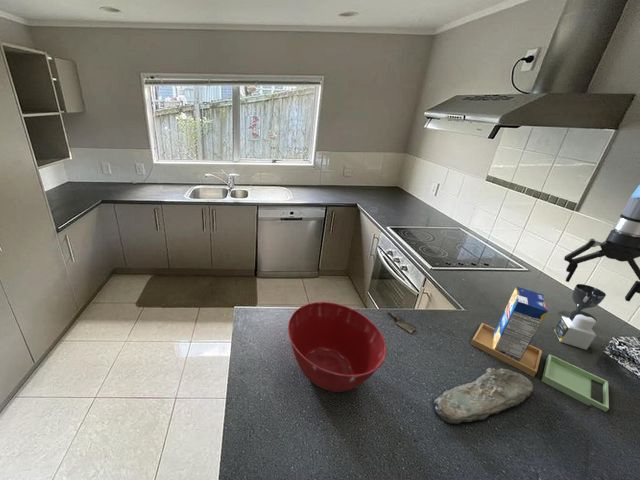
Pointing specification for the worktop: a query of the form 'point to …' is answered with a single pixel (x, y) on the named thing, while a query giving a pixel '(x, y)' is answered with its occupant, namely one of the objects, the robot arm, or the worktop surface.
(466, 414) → the long grey stone
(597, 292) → the wine glass
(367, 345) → the mixing bowl
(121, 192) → the worktop surface
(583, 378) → the green tray
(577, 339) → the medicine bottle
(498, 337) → the beverage box
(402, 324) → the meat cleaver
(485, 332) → the oak tray
